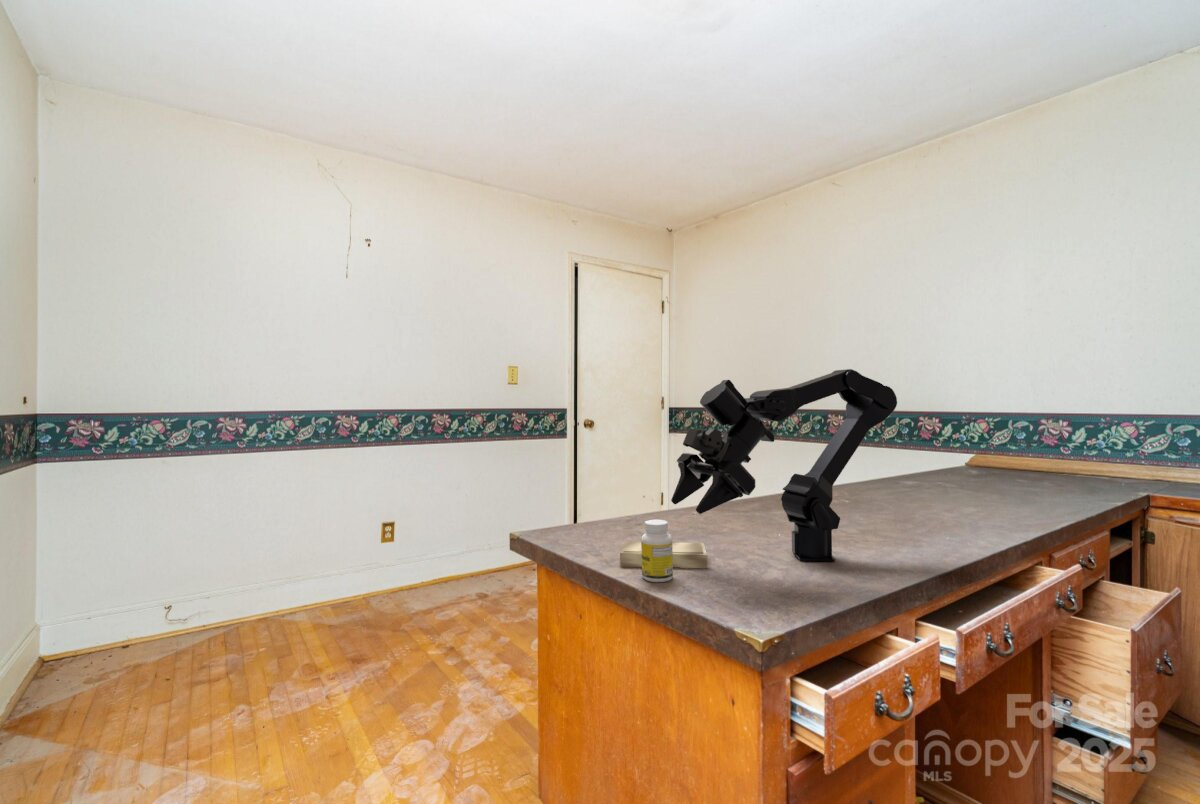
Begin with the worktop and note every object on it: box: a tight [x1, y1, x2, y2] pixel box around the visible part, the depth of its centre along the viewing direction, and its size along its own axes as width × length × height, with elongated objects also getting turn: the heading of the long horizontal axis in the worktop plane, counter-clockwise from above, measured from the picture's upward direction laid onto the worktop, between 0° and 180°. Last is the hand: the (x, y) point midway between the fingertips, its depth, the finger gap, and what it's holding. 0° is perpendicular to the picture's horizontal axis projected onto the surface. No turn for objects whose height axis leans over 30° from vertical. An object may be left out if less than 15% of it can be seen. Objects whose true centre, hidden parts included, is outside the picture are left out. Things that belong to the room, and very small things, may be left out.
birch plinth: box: [619, 541, 708, 569], centre depth 104 cm, size 16×8×3 cm, turn 83°
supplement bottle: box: [640, 519, 674, 583], centre depth 94 cm, size 5×5×10 cm
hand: (684, 507), depth 96 cm, fingers open, 9 cm apart
